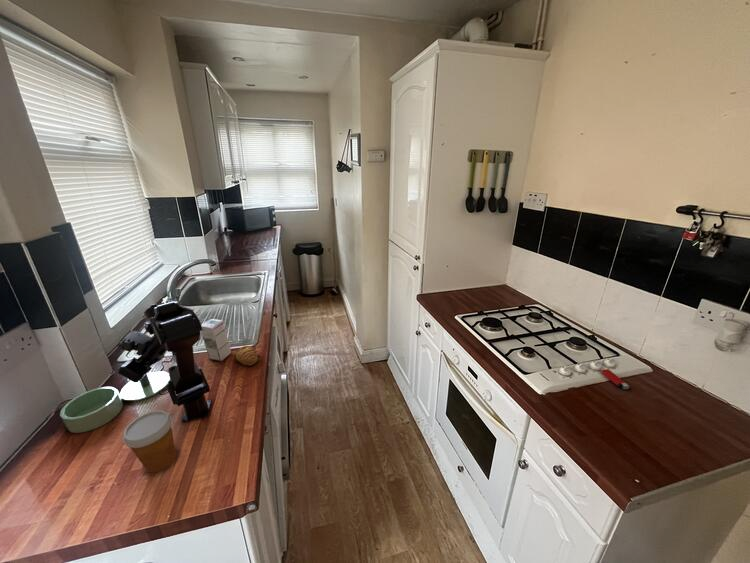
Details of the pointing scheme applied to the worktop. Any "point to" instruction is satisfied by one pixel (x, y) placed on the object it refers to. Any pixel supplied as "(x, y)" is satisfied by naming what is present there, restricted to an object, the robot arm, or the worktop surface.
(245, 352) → the pastry
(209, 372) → the worktop surface
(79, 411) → the pot
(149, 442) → the disposable coffee cup
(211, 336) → the syrup box
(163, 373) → the lid
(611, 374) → the lighter
